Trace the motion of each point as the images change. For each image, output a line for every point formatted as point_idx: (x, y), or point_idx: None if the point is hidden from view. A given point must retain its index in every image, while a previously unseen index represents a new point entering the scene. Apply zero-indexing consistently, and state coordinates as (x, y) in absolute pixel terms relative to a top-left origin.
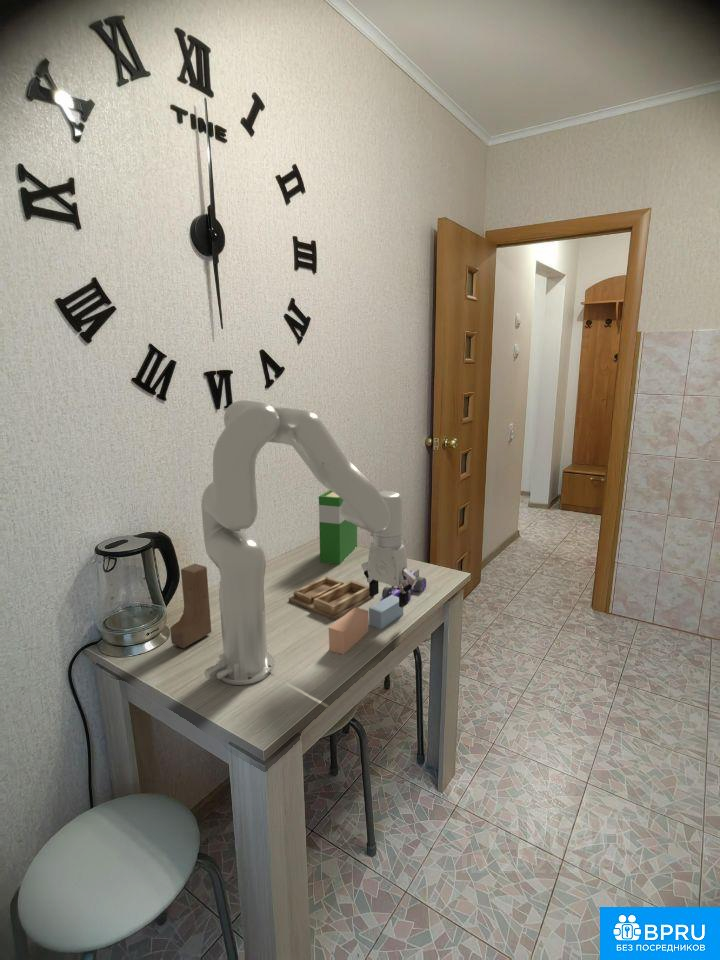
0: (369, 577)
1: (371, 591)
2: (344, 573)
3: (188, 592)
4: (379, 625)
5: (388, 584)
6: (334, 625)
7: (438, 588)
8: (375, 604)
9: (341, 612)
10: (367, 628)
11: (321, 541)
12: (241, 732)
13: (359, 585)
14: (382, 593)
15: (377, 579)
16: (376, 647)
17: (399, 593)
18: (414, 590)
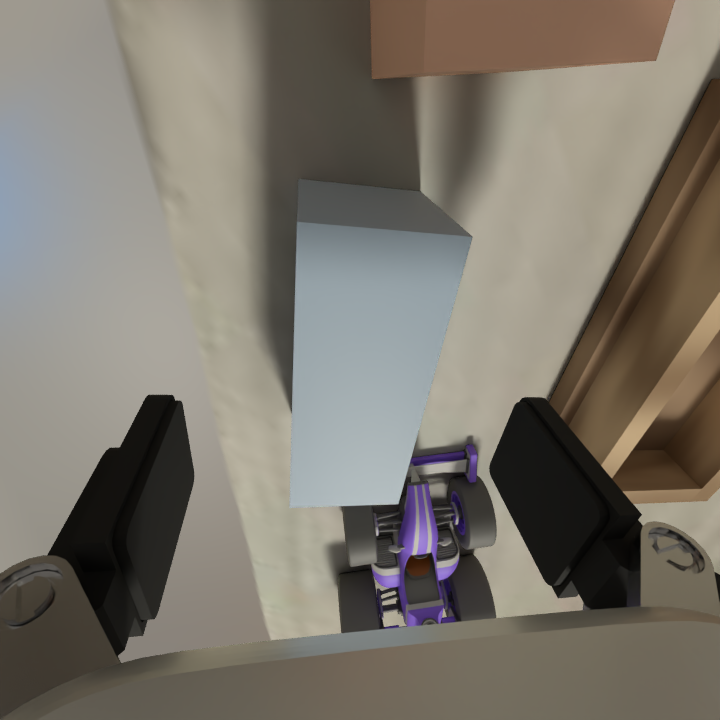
0: (706, 603)
1: (552, 438)
2: (713, 528)
3: None
4: (316, 187)
5: (273, 645)
6: None
7: (305, 619)
8: (442, 335)
9: (688, 193)
10: (378, 57)
11: None
12: None
13: (645, 488)
14: (488, 498)
15: (575, 662)
16: None
17: (105, 539)
18: (368, 578)
